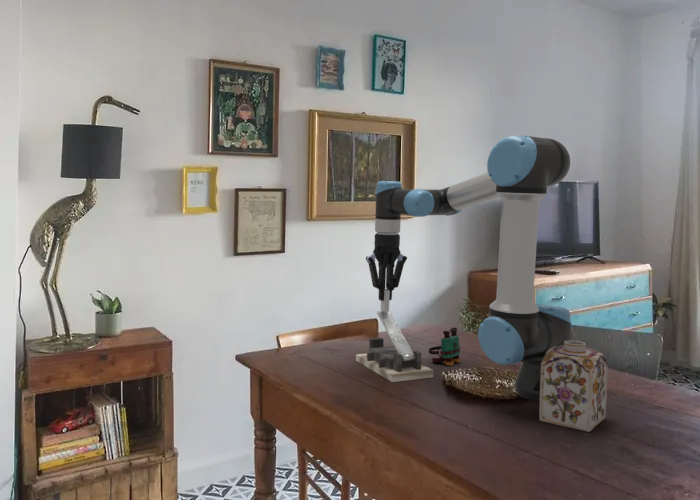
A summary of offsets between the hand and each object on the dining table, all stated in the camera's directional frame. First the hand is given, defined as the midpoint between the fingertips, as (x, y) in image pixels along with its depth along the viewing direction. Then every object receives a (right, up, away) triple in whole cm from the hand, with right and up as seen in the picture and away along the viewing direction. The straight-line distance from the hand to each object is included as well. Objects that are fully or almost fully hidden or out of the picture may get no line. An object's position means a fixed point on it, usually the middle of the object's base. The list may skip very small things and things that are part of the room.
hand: (384, 310), depth 192 cm
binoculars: (+18, -16, +4) cm, 25 cm away
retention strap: (+3, -7, -6) cm, 10 cm away
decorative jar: (+40, -20, -47) cm, 65 cm away
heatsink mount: (+2, -17, -4) cm, 17 cm away
